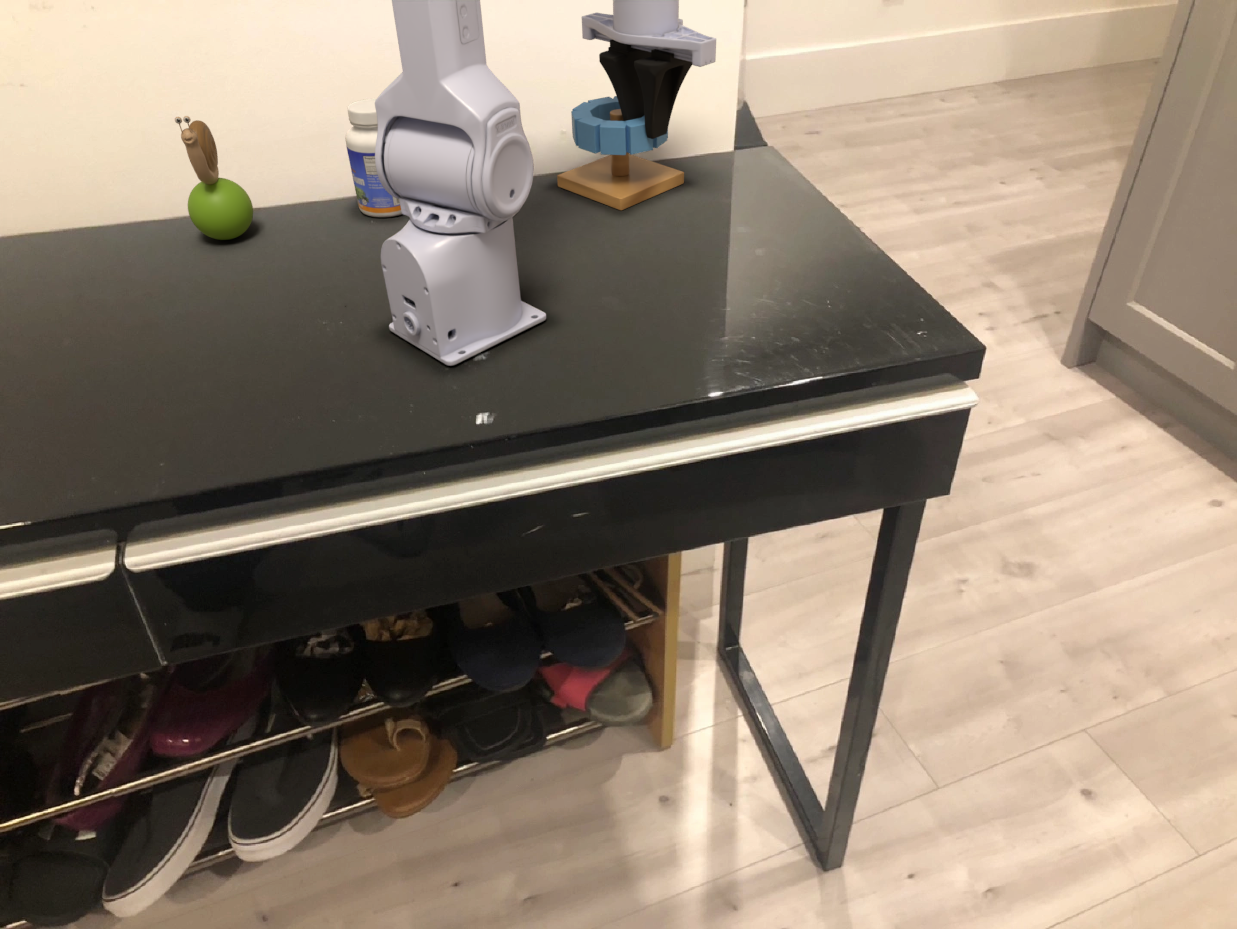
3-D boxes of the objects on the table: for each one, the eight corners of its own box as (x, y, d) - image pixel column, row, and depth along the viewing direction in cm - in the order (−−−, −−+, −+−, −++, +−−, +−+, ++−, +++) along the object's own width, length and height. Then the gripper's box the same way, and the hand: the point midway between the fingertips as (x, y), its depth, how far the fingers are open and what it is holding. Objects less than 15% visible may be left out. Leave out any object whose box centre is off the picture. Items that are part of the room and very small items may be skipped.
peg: (621, 210, 87) (619, 134, 82) (557, 186, 92) (552, 113, 87) (684, 183, 92) (685, 110, 87) (620, 161, 97) (618, 91, 92)
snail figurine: (192, 257, 81) (145, 120, 74) (203, 228, 86) (160, 96, 79) (256, 250, 82) (215, 114, 74) (262, 221, 87) (225, 91, 79)
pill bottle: (357, 200, 90) (335, 99, 84) (412, 193, 91) (395, 92, 85) (362, 222, 86) (340, 117, 80) (419, 214, 87) (402, 110, 81)
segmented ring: (621, 162, 84) (621, 134, 82) (553, 139, 89) (551, 112, 87) (686, 136, 89) (687, 109, 87) (618, 116, 94) (618, 89, 92)
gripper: (742, -27, 76) (733, 138, 84) (618, -47, 84) (621, 105, 92) (685, -12, 72) (682, 159, 80) (561, -35, 80) (570, 123, 88)
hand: (646, 132), depth 86 cm, fingers closed on segmented ring, 2 cm apart
